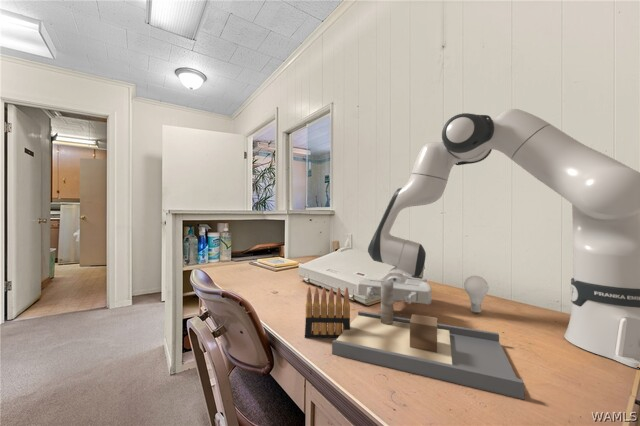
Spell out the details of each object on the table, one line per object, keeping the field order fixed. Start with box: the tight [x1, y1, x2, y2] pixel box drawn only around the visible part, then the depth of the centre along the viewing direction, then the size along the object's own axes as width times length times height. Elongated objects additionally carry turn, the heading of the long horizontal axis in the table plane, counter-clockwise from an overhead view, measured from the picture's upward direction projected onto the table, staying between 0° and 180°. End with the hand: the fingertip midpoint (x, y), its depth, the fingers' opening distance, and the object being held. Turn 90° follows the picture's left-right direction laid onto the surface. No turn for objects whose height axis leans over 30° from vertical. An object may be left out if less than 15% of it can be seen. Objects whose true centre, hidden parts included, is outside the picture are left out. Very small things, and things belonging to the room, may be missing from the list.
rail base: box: [331, 310, 525, 400], centre depth 57 cm, size 32×20×2 cm, turn 66°
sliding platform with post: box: [336, 281, 452, 365], centre depth 59 cm, size 22×16×11 cm
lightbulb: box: [463, 275, 490, 314], centre depth 79 cm, size 6×6×11 cm
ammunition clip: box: [304, 286, 351, 340], centre depth 62 cm, size 11×2×12 cm, turn 89°
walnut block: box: [410, 313, 438, 353], centre depth 55 cm, size 5×5×5 cm
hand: (388, 297), depth 68 cm, fingers open, 8 cm apart
